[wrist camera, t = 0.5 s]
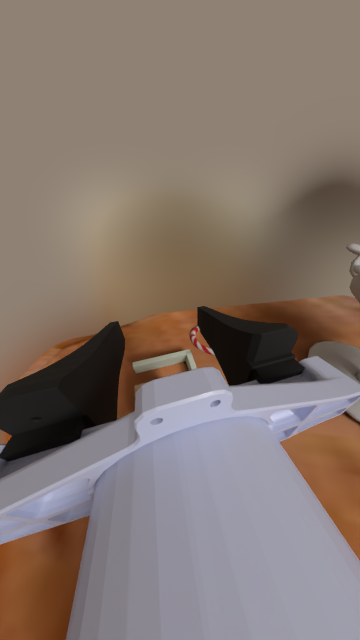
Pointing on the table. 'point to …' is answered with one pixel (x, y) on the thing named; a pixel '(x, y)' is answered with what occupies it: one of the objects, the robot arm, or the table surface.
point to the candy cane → (196, 343)
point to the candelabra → (339, 354)
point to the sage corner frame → (165, 361)
